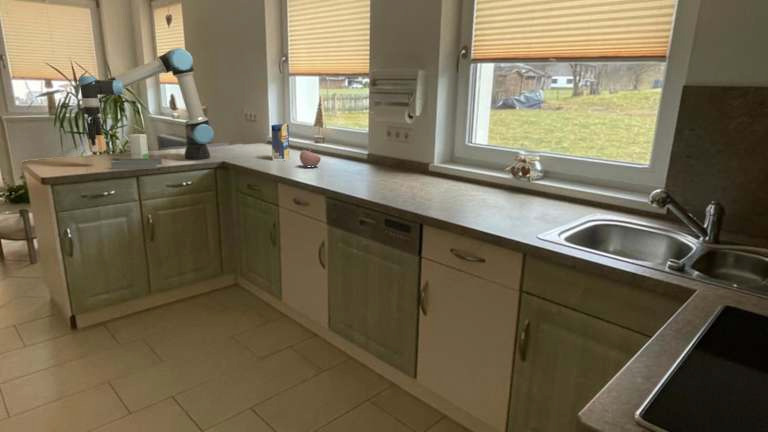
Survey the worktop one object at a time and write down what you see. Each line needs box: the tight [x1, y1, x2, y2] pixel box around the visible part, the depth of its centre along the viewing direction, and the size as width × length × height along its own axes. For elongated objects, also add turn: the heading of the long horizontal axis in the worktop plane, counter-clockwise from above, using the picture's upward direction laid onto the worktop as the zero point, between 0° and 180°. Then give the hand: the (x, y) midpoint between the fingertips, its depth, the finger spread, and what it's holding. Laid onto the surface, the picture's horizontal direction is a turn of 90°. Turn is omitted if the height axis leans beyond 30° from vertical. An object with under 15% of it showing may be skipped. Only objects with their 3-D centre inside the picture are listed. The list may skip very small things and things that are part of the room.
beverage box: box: [270, 123, 290, 159], centre depth 302 cm, size 7×11×22 cm, turn 169°
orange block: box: [87, 134, 107, 153], centre depth 257 cm, size 6×6×8 cm
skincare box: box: [128, 133, 149, 158], centre depth 280 cm, size 8×7×16 cm
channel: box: [110, 157, 163, 170], centre depth 264 cm, size 22×15×3 cm
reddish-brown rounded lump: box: [299, 147, 321, 168], centre depth 279 cm, size 12×12×12 cm
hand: (97, 150), depth 258 cm, fingers closed on orange block, 6 cm apart
